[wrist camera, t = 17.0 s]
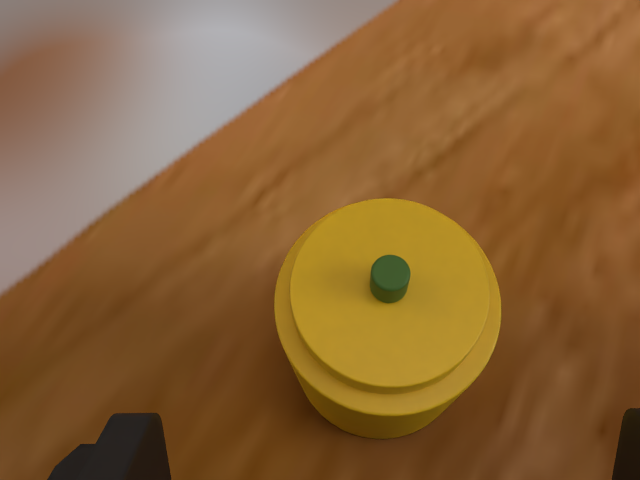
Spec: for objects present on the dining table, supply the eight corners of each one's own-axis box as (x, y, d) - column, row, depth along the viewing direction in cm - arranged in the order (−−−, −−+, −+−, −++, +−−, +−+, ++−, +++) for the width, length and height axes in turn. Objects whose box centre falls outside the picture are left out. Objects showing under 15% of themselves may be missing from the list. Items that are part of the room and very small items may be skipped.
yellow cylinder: (270, 404, 20) (222, 351, 13) (326, 254, 22) (313, 134, 15) (437, 465, 19) (488, 445, 12) (480, 301, 21) (546, 198, 14)
